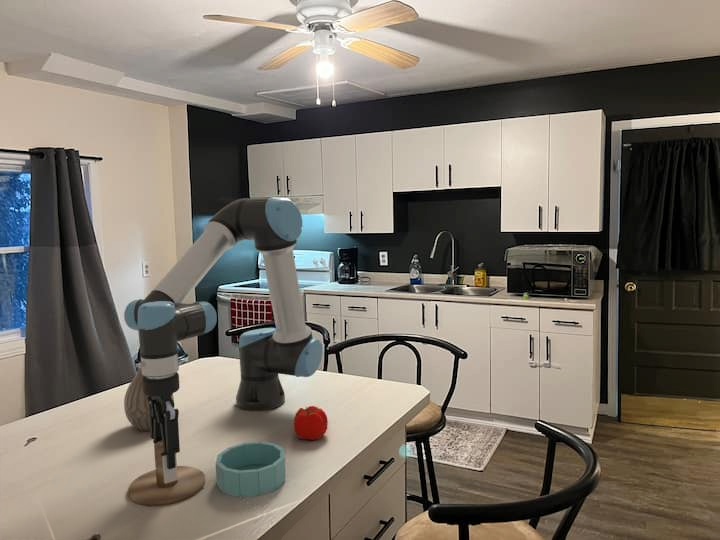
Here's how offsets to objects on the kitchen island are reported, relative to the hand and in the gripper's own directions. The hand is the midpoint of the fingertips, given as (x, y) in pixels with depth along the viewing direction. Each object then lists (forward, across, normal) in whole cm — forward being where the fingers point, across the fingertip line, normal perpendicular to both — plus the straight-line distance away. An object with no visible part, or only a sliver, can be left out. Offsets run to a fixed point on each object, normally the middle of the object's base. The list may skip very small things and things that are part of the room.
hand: (166, 476), depth 123 cm
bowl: (+3, +9, +16) cm, 18 cm away
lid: (+2, 0, 0) cm, 2 cm away
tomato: (+3, -3, +39) cm, 39 cm away
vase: (+3, -38, +8) cm, 39 cm away
